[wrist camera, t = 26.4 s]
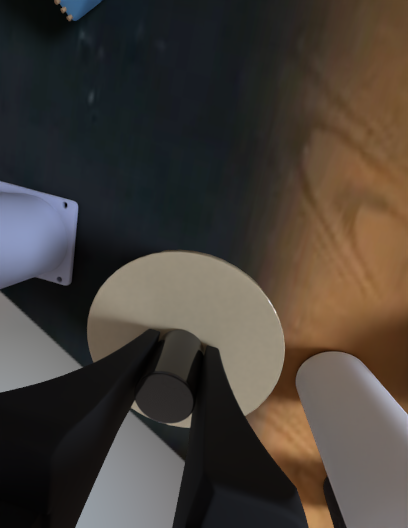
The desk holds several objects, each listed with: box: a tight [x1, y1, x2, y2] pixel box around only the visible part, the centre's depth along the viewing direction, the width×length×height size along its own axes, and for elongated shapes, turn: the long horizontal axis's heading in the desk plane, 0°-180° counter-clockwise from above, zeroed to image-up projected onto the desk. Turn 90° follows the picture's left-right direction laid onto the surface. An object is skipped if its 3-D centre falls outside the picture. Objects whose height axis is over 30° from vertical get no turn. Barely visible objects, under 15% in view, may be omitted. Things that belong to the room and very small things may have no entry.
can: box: [296, 351, 408, 528], centre depth 15 cm, size 6×6×12 cm
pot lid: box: [87, 250, 285, 428], centre depth 11 cm, size 11×11×4 cm
